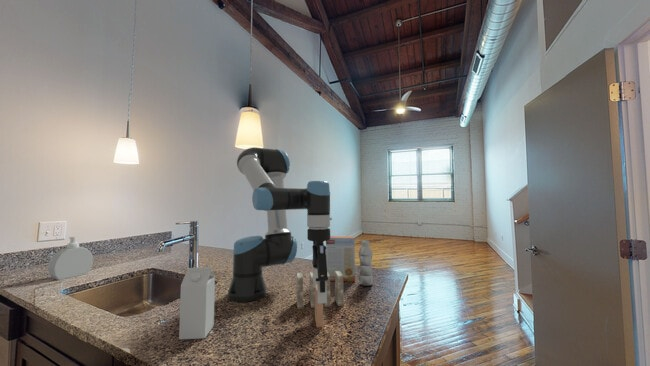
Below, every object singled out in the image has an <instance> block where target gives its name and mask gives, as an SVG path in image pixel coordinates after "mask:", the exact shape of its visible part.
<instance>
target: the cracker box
mask: <svg viewBox="0 0 650 366" xmlns="http://www.w3.org/2000/svg"><path fill="white" fill-rule="evenodd" d="M325 246H326V262H327V271H328V273H329V275H330V282H335V271H340V272H341V273H342V274H343V282H348V283H349V282H351V283H353V282H354V283H355V282H356V258H355V257H356V256H355V253H356V252H355V251H356V250H355V236H354V235H353V236H352V235H351V236H350V235H345V236H343V235H342V236H341V235H330V240H328V241H325Z"/></svg>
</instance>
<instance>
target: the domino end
mask: <svg viewBox="0 0 650 366" xmlns="http://www.w3.org/2000/svg"><path fill="white" fill-rule="evenodd" d="M314 321H315V324H316V326H315V327H316V328H324V303H319V304H318V297H317V284H315V308H314Z"/></svg>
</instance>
